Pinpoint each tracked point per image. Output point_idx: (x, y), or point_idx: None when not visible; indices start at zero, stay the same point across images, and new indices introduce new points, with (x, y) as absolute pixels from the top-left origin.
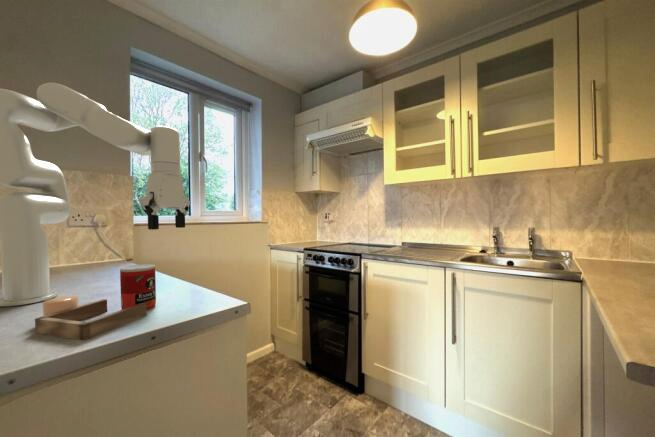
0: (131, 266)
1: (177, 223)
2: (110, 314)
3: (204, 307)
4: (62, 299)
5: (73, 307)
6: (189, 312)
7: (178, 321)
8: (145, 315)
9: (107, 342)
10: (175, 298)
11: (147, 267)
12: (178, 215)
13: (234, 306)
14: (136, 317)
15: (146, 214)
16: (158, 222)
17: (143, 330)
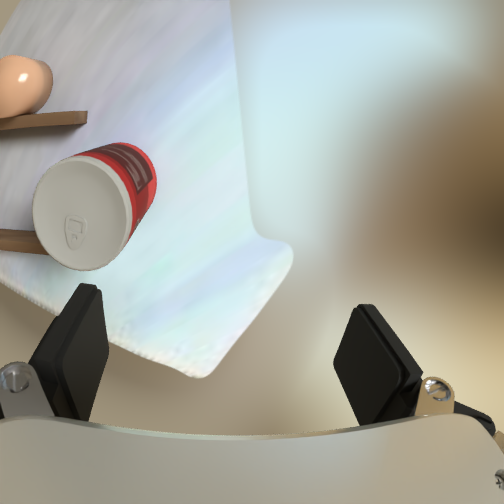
0: (85, 171)
1: (360, 341)
2: (13, 245)
3: (162, 327)
4: (4, 89)
5: (16, 115)
6: (128, 317)
7: None
8: None
9: (3, 278)
10: (212, 217)
11: (96, 241)
12: (383, 402)
13: (183, 371)
14: None
15: (11, 373)
16: (97, 385)
17: (42, 296)
